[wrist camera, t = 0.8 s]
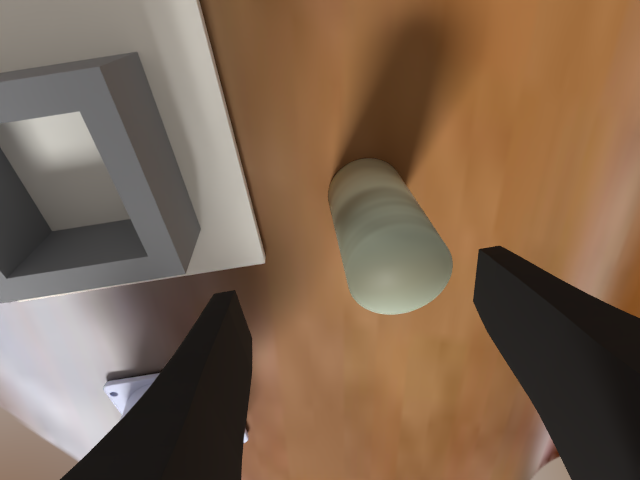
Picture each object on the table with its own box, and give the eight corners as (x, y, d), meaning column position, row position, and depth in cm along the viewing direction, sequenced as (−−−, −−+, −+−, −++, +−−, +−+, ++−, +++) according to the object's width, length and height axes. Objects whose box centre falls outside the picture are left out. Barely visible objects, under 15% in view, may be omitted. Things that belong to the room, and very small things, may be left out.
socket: (265, 256, 22) (262, 310, 18) (24, 295, 22) (-28, 356, 18) (187, -45, 14) (154, -60, 10) (-187, 12, 14) (-355, 19, 10)
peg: (402, 220, 21) (449, 305, 15) (332, 231, 21) (352, 321, 15) (401, 152, 19) (456, 222, 13) (323, 164, 19) (342, 240, 13)
